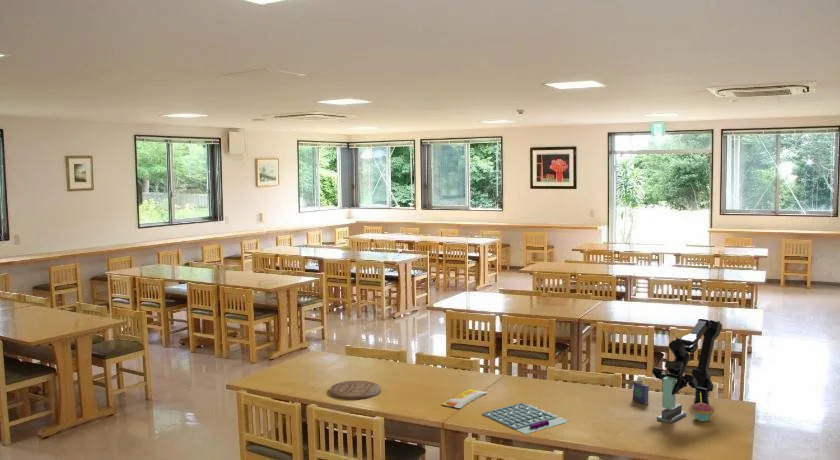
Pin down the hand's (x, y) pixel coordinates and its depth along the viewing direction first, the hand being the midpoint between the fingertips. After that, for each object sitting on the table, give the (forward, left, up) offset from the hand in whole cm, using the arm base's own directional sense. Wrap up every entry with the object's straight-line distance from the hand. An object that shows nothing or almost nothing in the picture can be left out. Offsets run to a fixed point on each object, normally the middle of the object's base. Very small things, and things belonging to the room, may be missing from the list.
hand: (667, 393), depth 306 cm
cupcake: (-7, +15, -12) cm, 20 cm away
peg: (-1, +1, -7) cm, 7 cm away
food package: (+5, -90, -13) cm, 92 cm away
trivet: (+13, -144, -13) cm, 145 cm away
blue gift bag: (-21, -12, -12) cm, 27 cm away
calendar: (+19, -58, -13) cm, 62 cm away
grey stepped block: (-4, +2, -12) cm, 13 cm away
